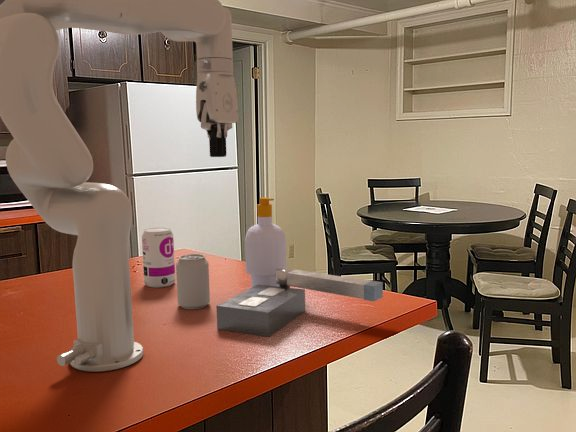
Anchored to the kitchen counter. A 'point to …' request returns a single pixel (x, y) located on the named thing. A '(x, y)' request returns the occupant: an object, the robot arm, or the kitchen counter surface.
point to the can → (192, 281)
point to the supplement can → (158, 257)
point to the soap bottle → (264, 247)
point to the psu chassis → (261, 309)
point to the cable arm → (330, 284)
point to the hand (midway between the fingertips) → (218, 156)
